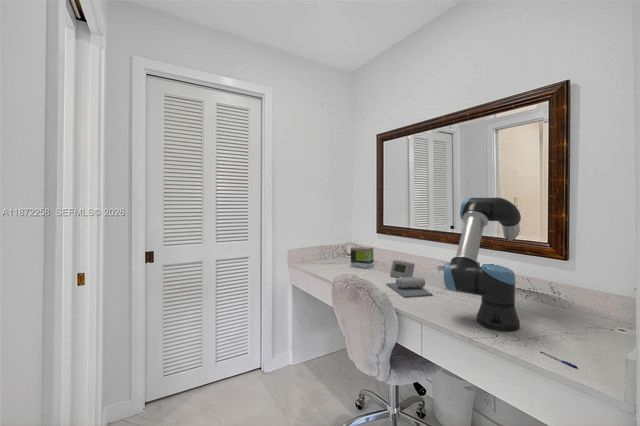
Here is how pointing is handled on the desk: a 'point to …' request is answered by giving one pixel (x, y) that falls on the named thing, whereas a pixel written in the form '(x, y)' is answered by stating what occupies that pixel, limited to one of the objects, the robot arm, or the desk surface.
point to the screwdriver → (560, 360)
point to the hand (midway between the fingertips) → (438, 268)
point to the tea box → (362, 257)
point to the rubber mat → (409, 291)
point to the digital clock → (402, 269)
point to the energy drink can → (410, 282)
